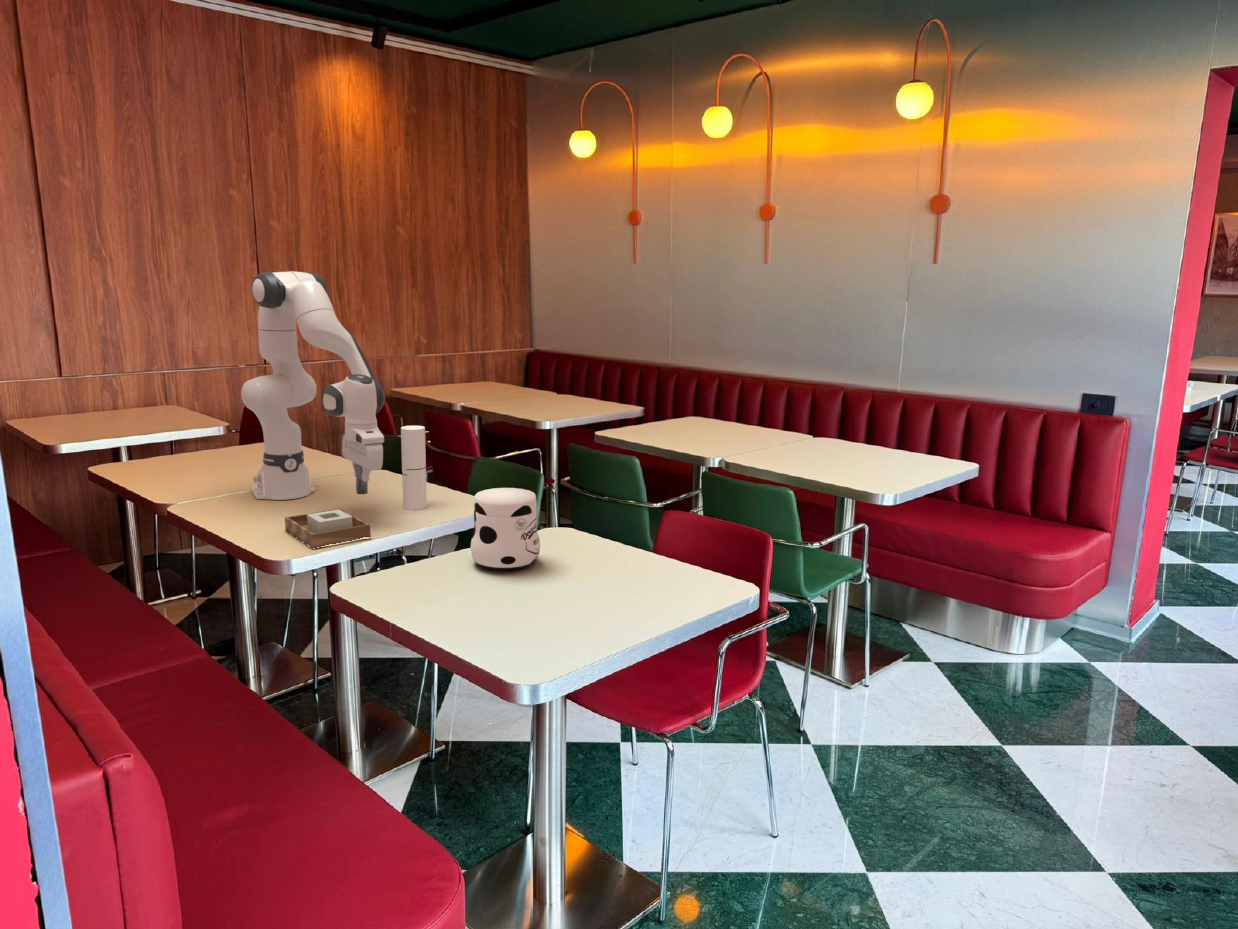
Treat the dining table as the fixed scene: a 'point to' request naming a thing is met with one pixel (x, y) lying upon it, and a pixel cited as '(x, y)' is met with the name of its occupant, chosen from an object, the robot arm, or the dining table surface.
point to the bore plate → (328, 521)
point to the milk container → (505, 529)
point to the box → (300, 530)
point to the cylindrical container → (413, 467)
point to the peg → (360, 481)
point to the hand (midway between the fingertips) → (361, 479)
